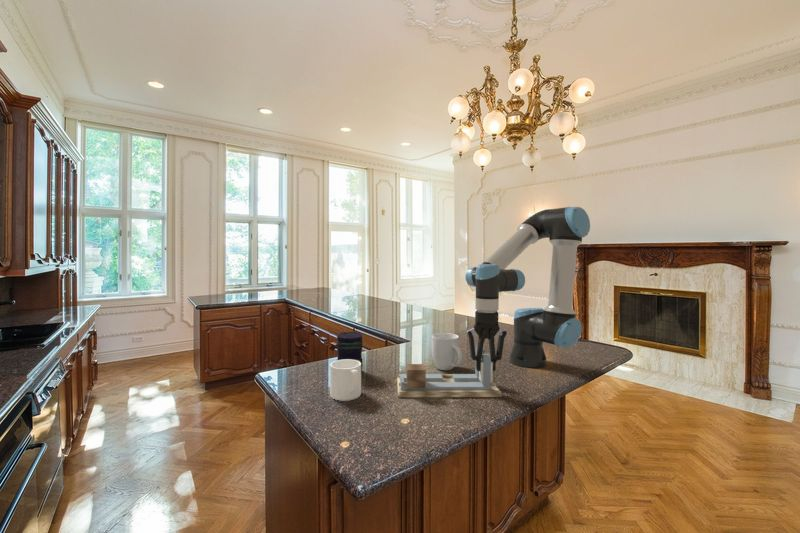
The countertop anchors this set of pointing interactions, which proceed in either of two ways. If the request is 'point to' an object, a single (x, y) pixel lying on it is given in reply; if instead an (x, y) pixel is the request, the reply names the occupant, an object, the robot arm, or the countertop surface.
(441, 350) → the mug
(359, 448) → the countertop surface
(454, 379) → the broken strip
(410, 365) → the walnut block
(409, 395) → the lane board
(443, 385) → the strip
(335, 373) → the mug
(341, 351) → the storage jar
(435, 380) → the broken strip
